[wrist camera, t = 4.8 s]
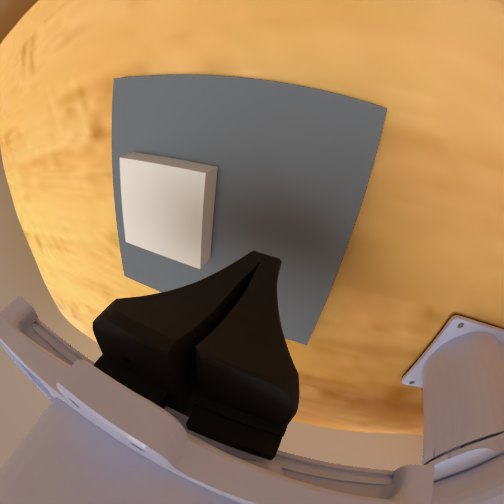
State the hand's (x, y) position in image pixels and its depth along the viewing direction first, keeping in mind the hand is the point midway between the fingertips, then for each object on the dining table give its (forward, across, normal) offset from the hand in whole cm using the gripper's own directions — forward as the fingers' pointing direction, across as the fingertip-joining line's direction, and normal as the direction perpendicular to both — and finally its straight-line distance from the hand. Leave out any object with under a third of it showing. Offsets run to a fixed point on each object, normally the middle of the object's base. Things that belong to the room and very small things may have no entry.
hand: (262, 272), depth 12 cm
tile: (+3, +4, 0) cm, 5 cm away
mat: (+4, +4, 0) cm, 6 cm away
